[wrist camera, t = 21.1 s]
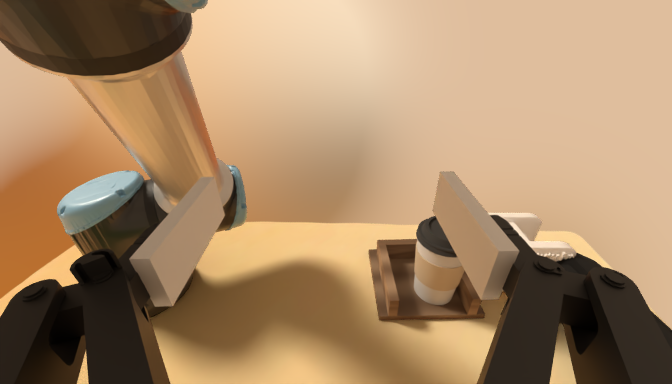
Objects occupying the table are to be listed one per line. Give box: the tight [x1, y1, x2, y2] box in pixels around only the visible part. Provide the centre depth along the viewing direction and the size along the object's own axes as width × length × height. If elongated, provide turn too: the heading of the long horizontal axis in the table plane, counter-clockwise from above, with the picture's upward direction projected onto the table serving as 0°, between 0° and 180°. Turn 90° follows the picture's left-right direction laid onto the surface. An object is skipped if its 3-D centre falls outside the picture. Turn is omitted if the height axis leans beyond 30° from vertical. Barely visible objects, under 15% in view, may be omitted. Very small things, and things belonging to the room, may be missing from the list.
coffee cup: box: [414, 216, 465, 305], centre depth 48 cm, size 9×9×15 cm
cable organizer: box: [488, 213, 576, 291], centre depth 53 cm, size 15×11×12 cm
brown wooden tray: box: [369, 239, 485, 320], centre depth 54 cm, size 16×18×5 cm
